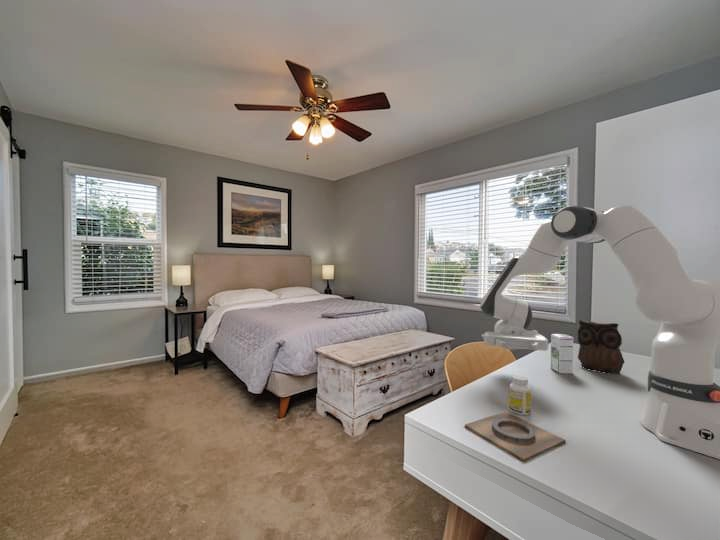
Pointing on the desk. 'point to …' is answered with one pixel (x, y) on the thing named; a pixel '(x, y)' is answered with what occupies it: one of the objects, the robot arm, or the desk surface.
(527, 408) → the supplement bottle
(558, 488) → the desk surface
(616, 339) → the owl
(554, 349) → the syrup box
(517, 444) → the board
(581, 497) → the desk surface
